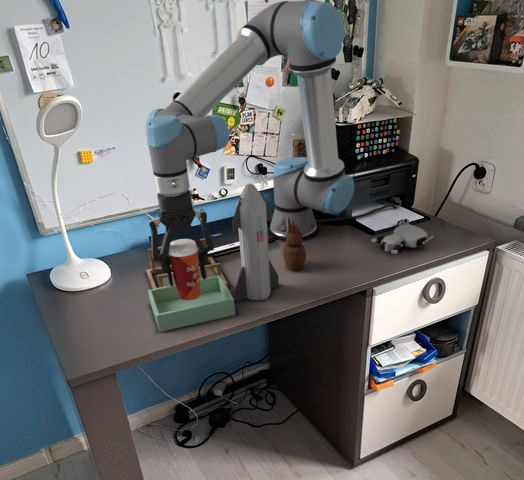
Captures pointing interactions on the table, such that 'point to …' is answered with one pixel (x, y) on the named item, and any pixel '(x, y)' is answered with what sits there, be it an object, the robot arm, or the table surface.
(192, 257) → the paper cup
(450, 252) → the table surface
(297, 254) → the wooden figurine
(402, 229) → the robot toy
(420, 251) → the table surface
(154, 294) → the green rectangular tray
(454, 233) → the table surface
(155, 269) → the drying rack
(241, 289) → the rocket model
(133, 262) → the table surface
